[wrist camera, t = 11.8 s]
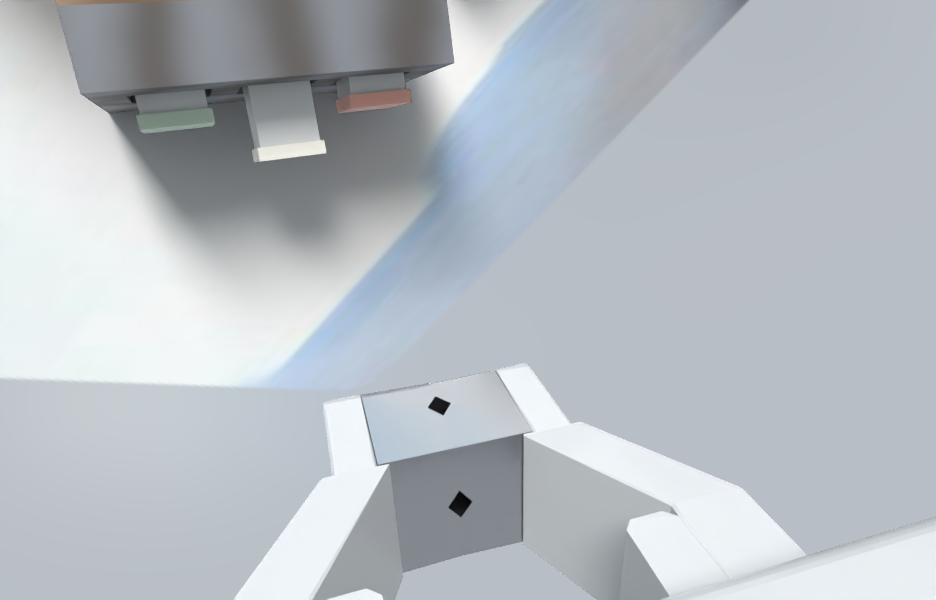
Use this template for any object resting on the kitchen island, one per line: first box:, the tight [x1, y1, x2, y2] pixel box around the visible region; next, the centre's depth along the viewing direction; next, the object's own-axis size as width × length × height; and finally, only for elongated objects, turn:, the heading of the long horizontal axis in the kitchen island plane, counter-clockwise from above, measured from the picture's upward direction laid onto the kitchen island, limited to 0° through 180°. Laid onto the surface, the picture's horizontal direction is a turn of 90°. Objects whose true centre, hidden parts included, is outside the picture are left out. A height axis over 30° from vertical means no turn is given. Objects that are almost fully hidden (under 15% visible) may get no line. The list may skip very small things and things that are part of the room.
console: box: [55, 0, 454, 113], centre depth 39 cm, size 20×8×12 cm, turn 97°
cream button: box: [242, 80, 326, 162], centre depth 39 cm, size 4×5×4 cm
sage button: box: [135, 89, 215, 134], centre depth 36 cm, size 4×5×4 cm
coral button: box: [335, 72, 412, 113], centre depth 41 cm, size 4×5×4 cm
